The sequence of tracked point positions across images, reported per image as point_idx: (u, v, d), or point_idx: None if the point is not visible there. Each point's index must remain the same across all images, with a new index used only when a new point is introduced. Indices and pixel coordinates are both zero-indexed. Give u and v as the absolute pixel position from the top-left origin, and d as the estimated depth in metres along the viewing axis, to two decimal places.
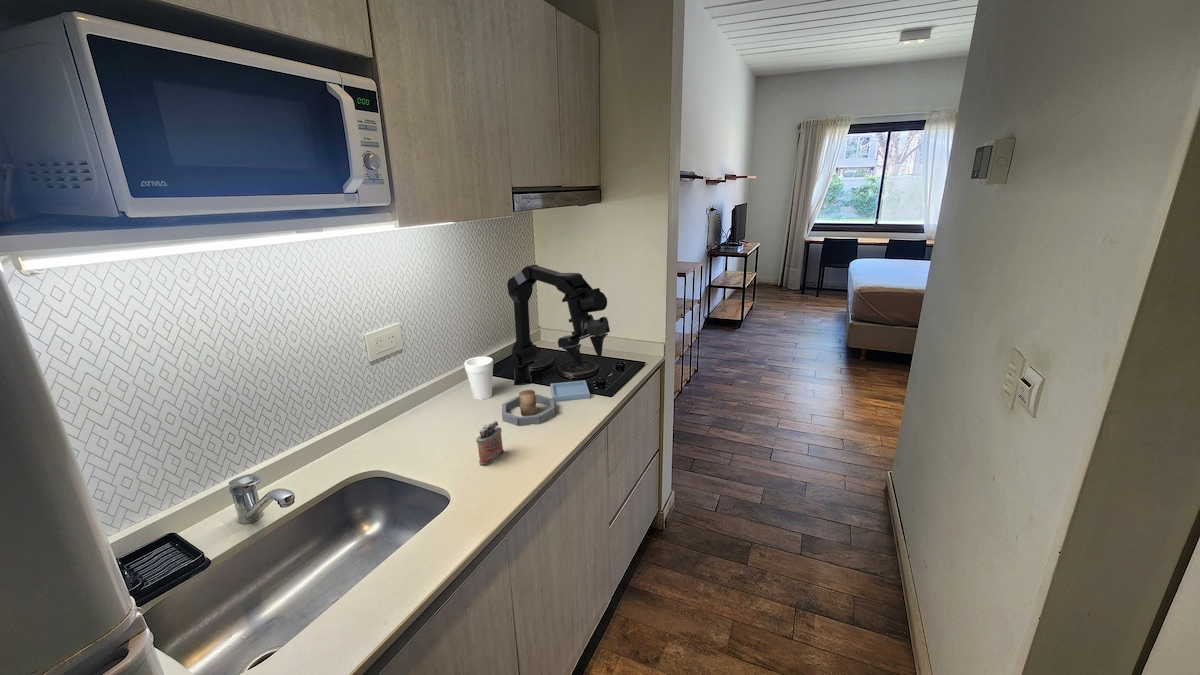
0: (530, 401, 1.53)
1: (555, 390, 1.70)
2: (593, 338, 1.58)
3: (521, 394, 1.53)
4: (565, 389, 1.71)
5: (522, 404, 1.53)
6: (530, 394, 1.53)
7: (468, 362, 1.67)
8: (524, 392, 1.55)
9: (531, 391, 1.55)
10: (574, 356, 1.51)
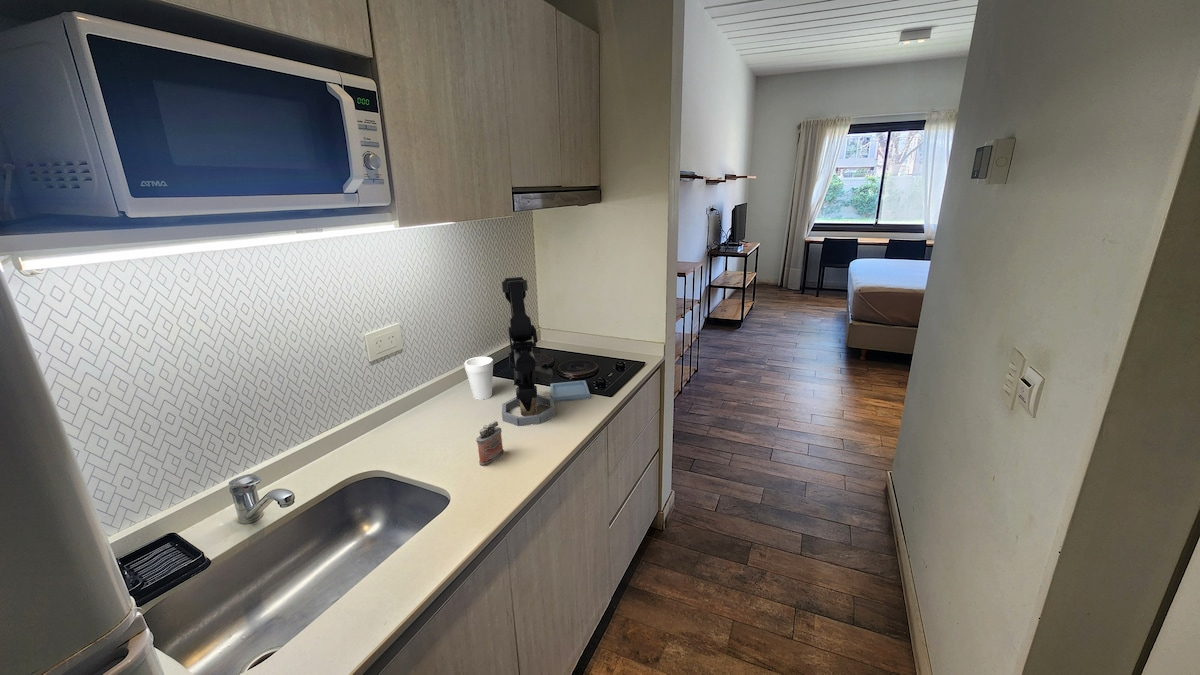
0: None
1: (555, 390, 1.70)
2: None
3: None
4: (565, 389, 1.71)
5: (522, 404, 1.53)
6: None
7: (468, 362, 1.67)
8: None
9: None
10: (525, 402, 1.51)
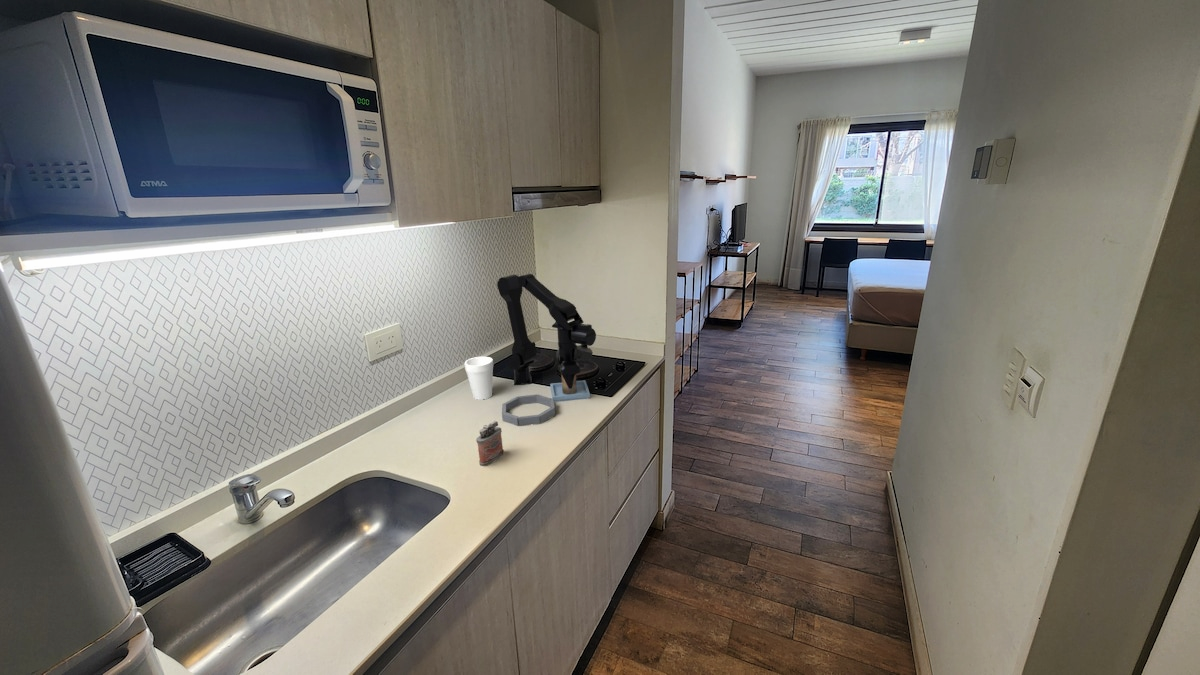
0: None
1: (555, 390, 1.70)
2: (562, 362, 1.71)
3: None
4: None
5: (564, 383, 1.66)
6: None
7: (468, 362, 1.67)
8: None
9: None
10: (568, 380, 1.62)
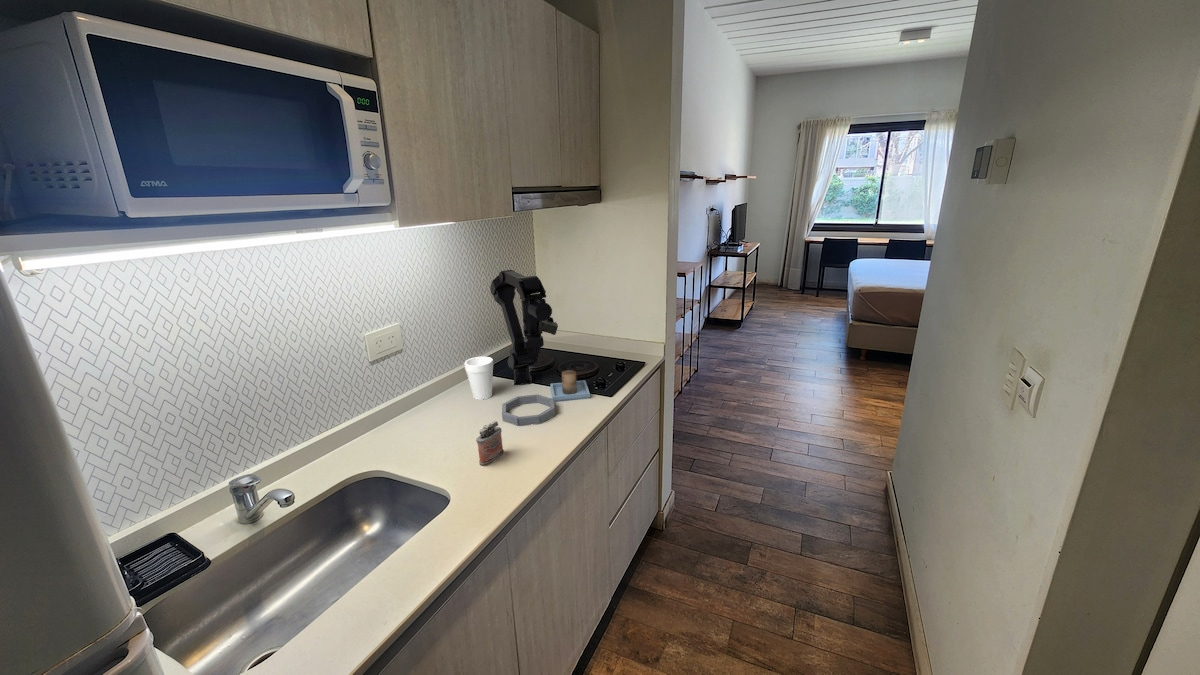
0: (572, 380, 1.66)
1: (555, 390, 1.70)
2: None
3: (564, 374, 1.66)
4: None
5: (564, 383, 1.66)
6: (572, 374, 1.66)
7: (468, 362, 1.67)
8: (565, 372, 1.68)
9: (572, 371, 1.68)
10: (533, 354, 1.60)
